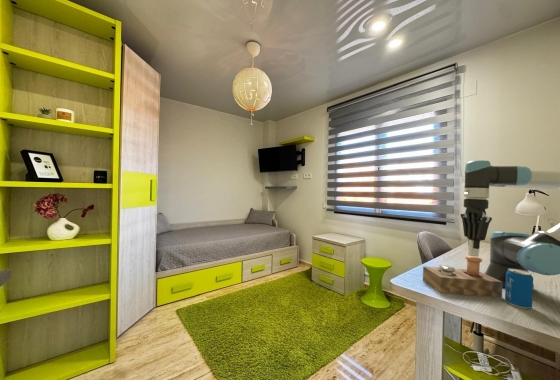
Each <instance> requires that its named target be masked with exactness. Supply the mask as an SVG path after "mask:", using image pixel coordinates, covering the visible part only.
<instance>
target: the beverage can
mask: <svg viewBox="0 0 560 380" xmlns="http://www.w3.org/2000/svg"><path fill="white" fill-rule="evenodd" d="M533 284H534V276H533V275H532V272H530V271H529V272H527V271H523V270H518V269H508V271H507V272H506V287H505V288H504V289H505V291H504V294H505V295H504V300H505V301H506V302H507V304H509V305H510V306H513V307H516V308H520V309H523V308H524V309H525V310H528V309H531V308H533V296H534V295H533V294H534V293H533V292H534V291H533Z"/></svg>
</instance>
